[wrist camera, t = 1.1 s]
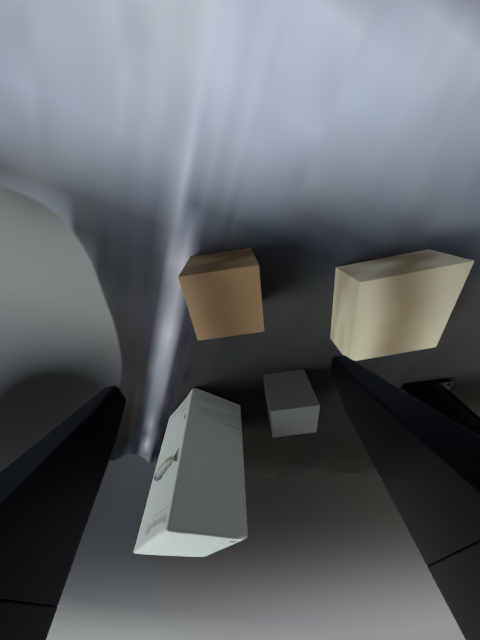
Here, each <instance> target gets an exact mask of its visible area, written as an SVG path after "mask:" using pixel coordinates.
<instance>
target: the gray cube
mask: <svg viewBox="0 0 480 640" xmlns="http://www.w3.org/2000/svg"><path fill="white" fill-rule="evenodd" d="M263 378H264V389H265V399H266V405H267V410H268V416H269V421H270V426H271V432H272V437H280V436H288V435H297V434H305V433H313V432H316V430H317V423H318V416H319V409H320V404H319V402H318V400H317V397H316V395H315V393H314V390H313V388H312V386H311V384H310V381H309V379H308V377H307V375H306V372H305V370H304V369H301V370H293V371H286V372H278V373H270V374H263Z"/></svg>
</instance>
